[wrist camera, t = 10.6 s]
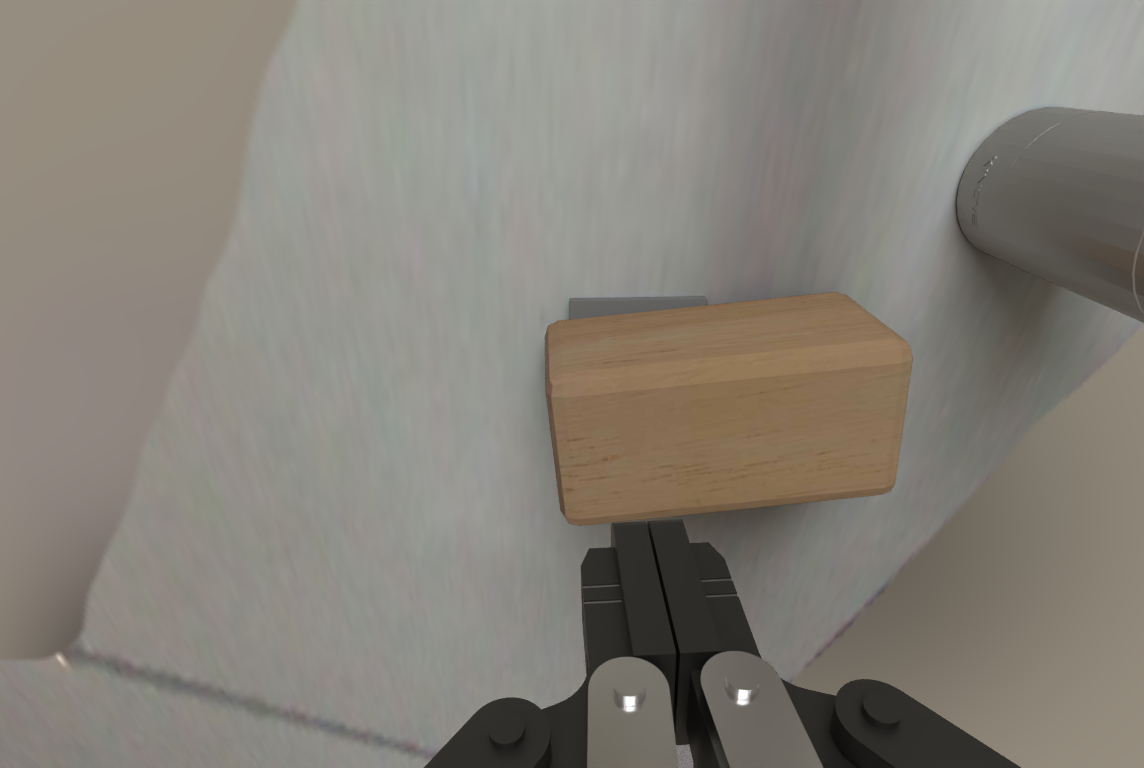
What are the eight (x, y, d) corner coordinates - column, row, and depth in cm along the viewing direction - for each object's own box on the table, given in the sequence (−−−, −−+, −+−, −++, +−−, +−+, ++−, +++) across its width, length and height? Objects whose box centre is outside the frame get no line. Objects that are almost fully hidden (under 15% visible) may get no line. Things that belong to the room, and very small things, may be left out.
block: (558, 446, 48) (833, 418, 48) (562, 534, 39) (900, 499, 39) (543, 316, 44) (845, 285, 44) (543, 383, 35) (923, 343, 35)
